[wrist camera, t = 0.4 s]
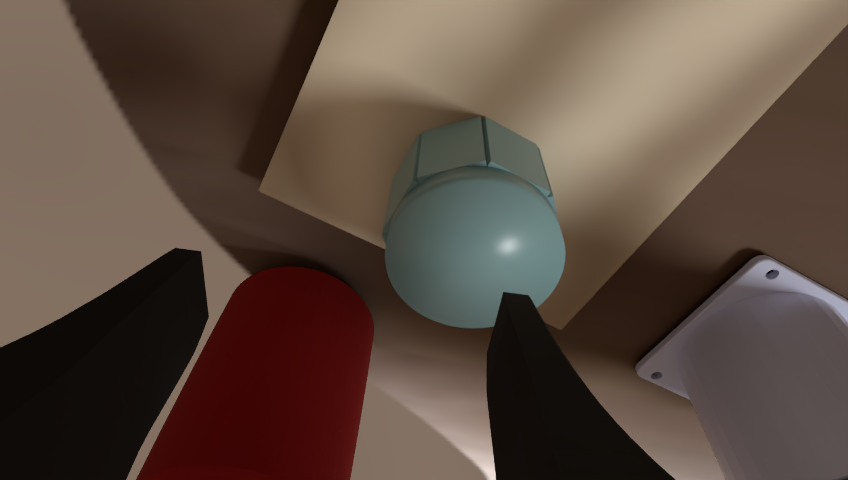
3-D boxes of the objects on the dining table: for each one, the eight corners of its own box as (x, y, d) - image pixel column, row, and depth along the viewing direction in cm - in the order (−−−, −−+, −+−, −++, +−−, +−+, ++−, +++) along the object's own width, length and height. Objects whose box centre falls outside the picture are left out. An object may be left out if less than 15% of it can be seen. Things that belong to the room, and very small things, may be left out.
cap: (575, 165, 20) (603, 234, 16) (493, 271, 23) (501, 350, 19) (442, 93, 19) (439, 148, 15) (372, 214, 22) (355, 286, 18)
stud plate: (921, -91, 16) (1046, -78, 13) (556, 311, 26) (573, 382, 22) (519, -419, 13) (543, -521, 10) (266, 176, 22) (232, 234, 19)
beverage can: (217, 334, 27) (81, 604, 17) (256, 232, 24) (114, 494, 14) (346, 380, 29) (288, 653, 19) (400, 289, 25) (365, 565, 15)
